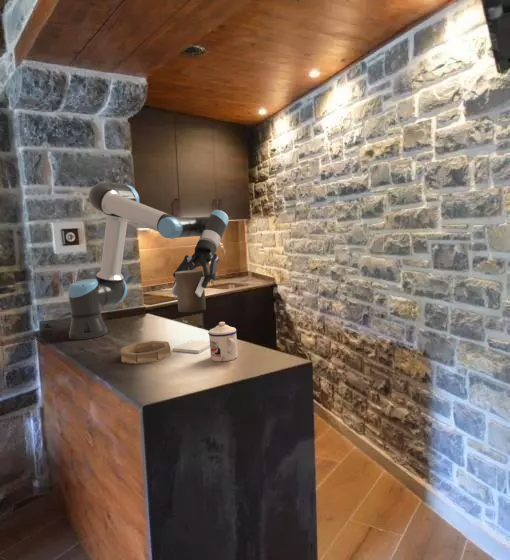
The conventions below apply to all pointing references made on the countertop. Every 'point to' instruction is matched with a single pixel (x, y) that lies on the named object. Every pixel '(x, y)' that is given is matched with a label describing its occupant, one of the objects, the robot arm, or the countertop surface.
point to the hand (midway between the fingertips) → (185, 294)
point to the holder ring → (132, 357)
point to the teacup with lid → (223, 342)
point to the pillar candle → (189, 291)
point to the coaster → (193, 346)
